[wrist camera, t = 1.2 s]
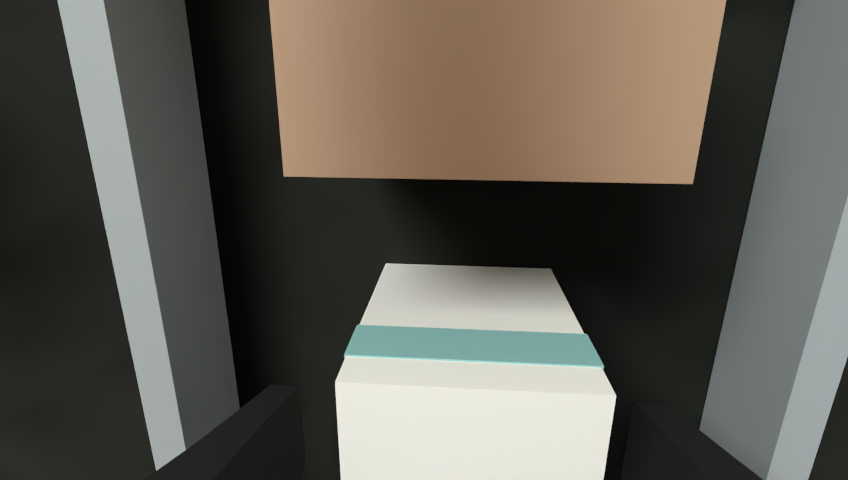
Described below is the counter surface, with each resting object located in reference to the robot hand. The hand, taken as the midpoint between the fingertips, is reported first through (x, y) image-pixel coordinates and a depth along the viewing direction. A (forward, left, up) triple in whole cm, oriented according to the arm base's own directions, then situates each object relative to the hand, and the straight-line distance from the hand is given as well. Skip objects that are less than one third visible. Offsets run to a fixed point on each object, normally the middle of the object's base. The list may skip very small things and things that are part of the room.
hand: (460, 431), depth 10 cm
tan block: (0, -8, -2) cm, 8 cm away
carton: (0, 0, -2) cm, 2 cm away
